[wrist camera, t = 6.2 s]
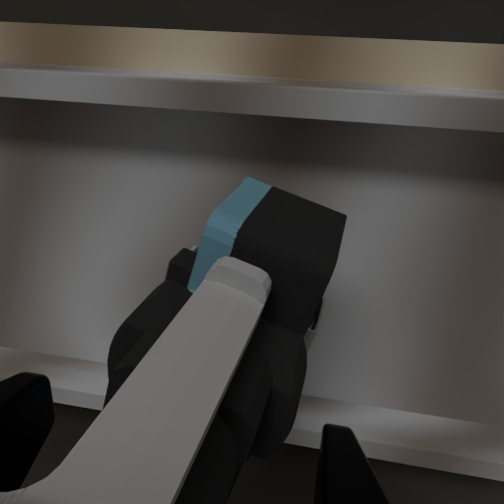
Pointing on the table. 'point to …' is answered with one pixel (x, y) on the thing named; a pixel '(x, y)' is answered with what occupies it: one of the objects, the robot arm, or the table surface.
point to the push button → (207, 359)
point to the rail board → (278, 175)
